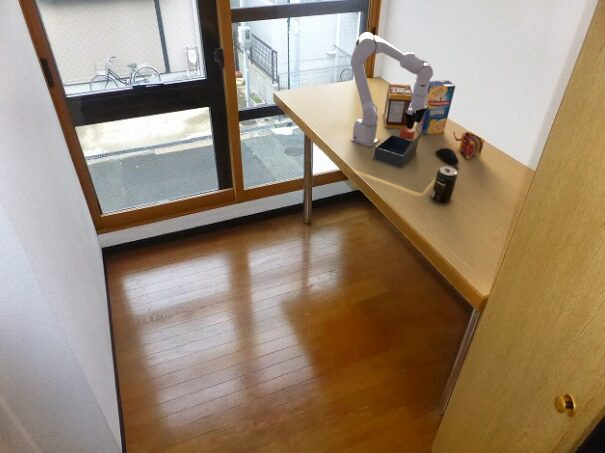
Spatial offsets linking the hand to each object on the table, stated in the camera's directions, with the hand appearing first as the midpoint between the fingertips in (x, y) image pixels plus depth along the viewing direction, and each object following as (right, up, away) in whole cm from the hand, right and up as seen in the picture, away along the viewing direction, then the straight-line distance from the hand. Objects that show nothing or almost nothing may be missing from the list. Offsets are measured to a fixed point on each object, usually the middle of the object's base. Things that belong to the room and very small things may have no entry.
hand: (413, 125), depth 181 cm
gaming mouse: (+13, -16, -5) cm, 21 cm away
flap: (-3, -10, -12) cm, 16 cm away
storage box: (-9, -14, -4) cm, 17 cm away
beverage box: (+12, +1, +17) cm, 21 cm away
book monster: (+21, -12, 0) cm, 24 cm away
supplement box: (-3, +7, +24) cm, 25 cm away
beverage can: (+2, -34, -28) cm, 44 cm away
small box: (-2, -6, +7) cm, 9 cm away
